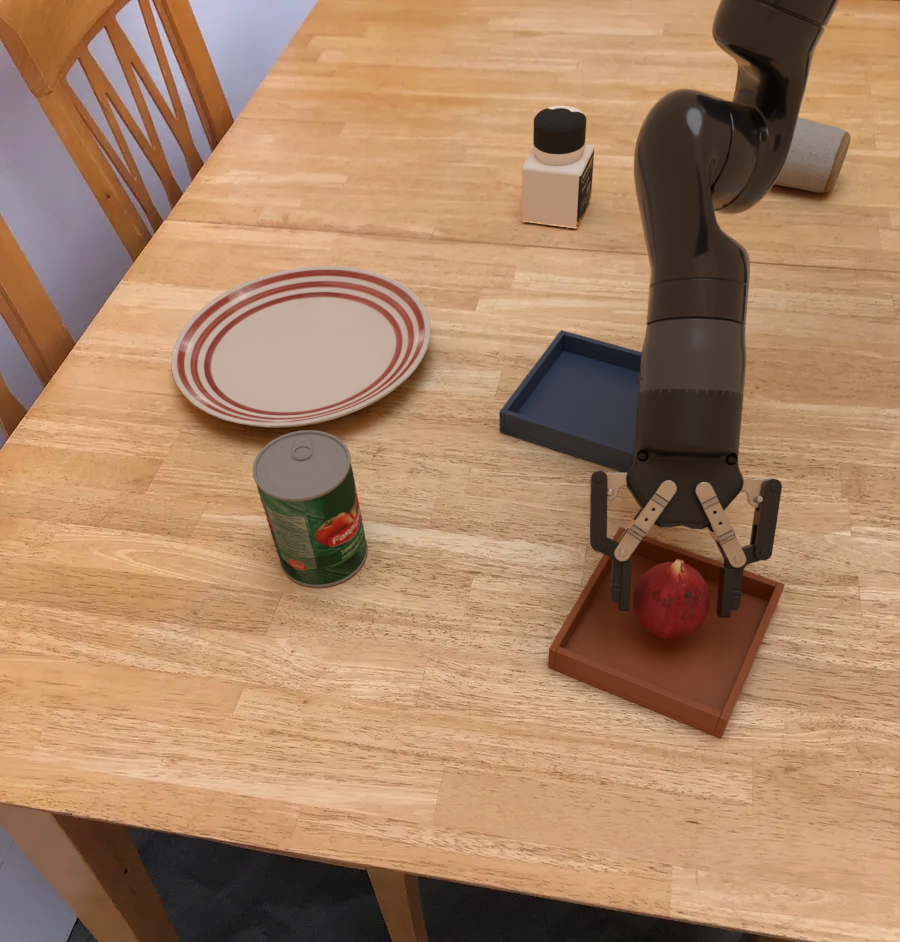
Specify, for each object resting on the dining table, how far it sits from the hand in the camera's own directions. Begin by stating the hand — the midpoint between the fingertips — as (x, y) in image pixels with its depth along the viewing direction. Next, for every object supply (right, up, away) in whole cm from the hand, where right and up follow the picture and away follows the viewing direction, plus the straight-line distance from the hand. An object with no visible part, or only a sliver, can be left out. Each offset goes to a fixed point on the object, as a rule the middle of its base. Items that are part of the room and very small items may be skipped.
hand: (673, 612), depth 70 cm
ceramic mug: (+27, +54, +47) cm, 76 cm away
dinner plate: (-32, +27, +30) cm, 51 cm away
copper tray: (+1, -2, +5) cm, 5 cm away
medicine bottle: (-4, +49, +45) cm, 67 cm away
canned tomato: (-28, +5, +13) cm, 31 cm away
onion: (0, -1, +5) cm, 5 cm away
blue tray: (-2, +20, +22) cm, 30 cm away
